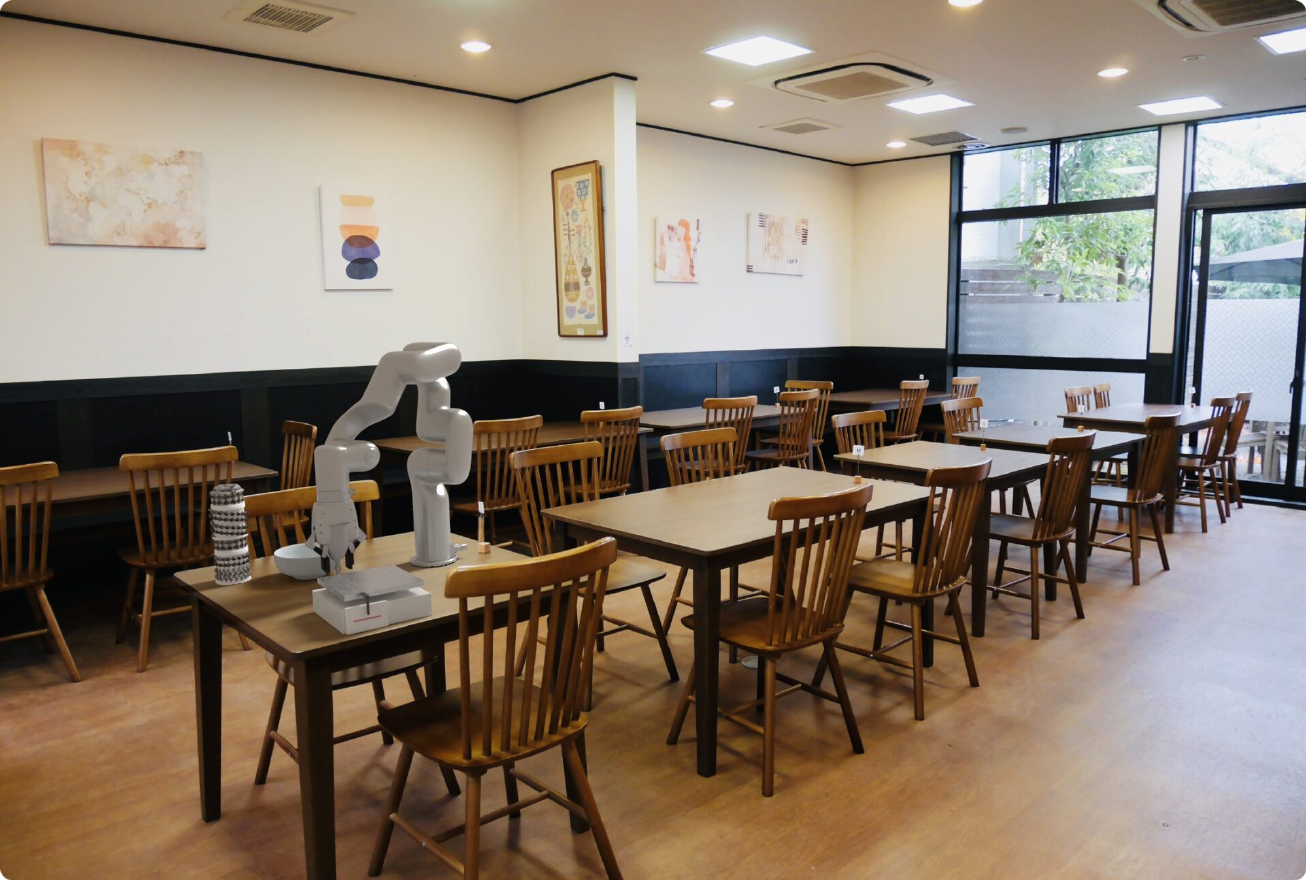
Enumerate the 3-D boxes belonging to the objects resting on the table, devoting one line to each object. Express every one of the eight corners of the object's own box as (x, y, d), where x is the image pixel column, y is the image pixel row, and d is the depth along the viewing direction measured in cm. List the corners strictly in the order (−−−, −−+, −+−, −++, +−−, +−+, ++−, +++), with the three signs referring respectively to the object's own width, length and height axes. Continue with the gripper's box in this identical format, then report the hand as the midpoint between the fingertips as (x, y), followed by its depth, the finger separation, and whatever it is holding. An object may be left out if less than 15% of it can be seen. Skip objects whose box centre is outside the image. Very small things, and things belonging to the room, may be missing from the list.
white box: (394, 588, 222) (393, 564, 222) (430, 609, 206) (429, 583, 205) (318, 603, 212) (317, 578, 211) (350, 626, 195) (348, 599, 194)
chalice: (361, 592, 226) (356, 520, 224) (343, 600, 220) (338, 526, 218) (336, 590, 229) (331, 518, 227) (317, 597, 223) (313, 524, 220)
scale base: (397, 594, 224) (396, 572, 223) (433, 616, 207) (432, 591, 207) (313, 611, 212) (312, 587, 211) (345, 635, 195) (343, 609, 195)
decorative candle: (207, 581, 238) (199, 485, 235) (243, 573, 245) (236, 480, 242) (223, 587, 232) (215, 489, 229) (259, 579, 239) (252, 484, 236)
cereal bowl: (298, 588, 231) (296, 560, 230) (262, 578, 241) (260, 551, 240) (357, 573, 244) (355, 547, 244) (320, 564, 254) (318, 538, 254)
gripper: (362, 489, 229) (366, 561, 232) (292, 498, 219) (297, 573, 222) (373, 493, 223) (378, 567, 226) (302, 503, 213) (307, 579, 216)
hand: (338, 569), depth 224 cm, fingers closed on chalice, 4 cm apart
